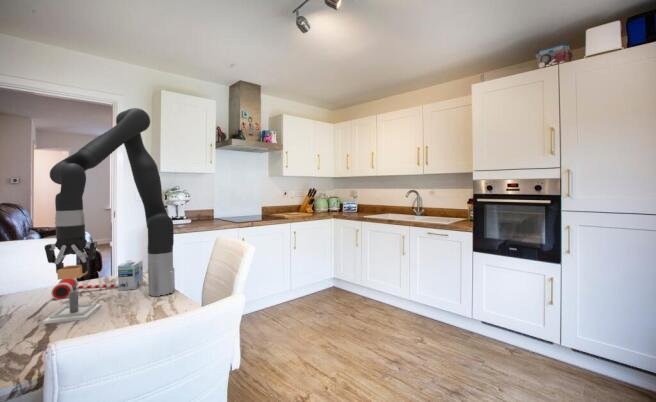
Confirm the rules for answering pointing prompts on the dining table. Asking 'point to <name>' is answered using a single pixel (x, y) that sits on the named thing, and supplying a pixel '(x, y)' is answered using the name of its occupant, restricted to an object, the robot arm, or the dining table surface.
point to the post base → (73, 311)
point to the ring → (70, 272)
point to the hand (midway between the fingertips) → (73, 273)
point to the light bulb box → (130, 274)
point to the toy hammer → (73, 288)
